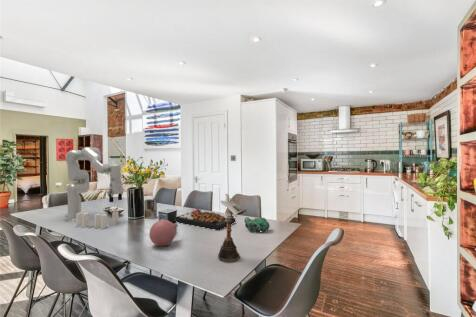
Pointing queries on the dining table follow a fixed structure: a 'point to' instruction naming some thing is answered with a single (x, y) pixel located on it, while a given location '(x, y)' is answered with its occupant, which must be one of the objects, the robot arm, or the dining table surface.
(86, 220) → the domino
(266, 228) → the mineral
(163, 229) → the dusty pink rubber ball
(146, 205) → the coffee box
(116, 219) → the domino
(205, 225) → the food platter
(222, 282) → the dining table surface
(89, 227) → the track board
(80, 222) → the domino
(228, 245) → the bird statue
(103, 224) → the domino
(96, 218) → the domino
